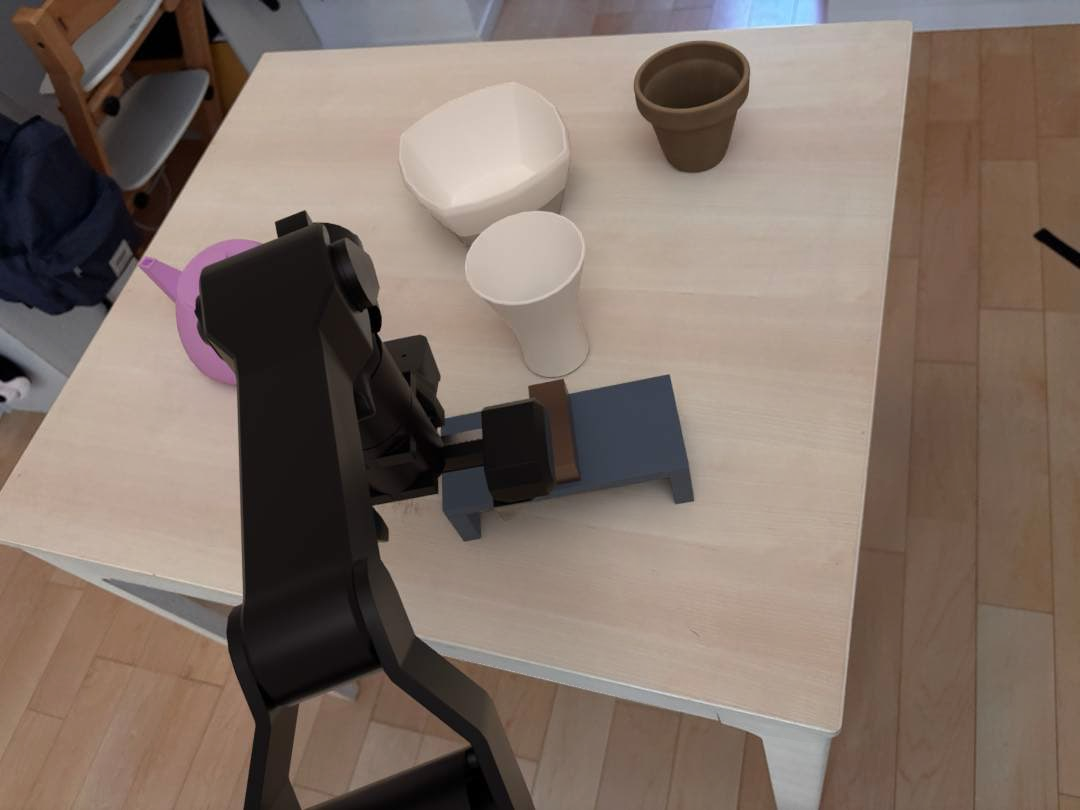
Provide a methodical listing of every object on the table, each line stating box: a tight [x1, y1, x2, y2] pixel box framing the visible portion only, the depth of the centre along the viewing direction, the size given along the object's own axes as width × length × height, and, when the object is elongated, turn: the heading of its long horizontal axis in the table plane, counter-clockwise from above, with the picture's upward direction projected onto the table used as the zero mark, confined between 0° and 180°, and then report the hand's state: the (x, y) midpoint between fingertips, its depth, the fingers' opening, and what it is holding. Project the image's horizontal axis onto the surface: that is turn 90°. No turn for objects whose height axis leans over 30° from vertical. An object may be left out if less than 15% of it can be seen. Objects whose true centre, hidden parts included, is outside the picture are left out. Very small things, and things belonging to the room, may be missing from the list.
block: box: [527, 378, 581, 485], centre depth 70 cm, size 8×3×3 cm, turn 5°
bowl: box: [397, 81, 572, 249], centre depth 92 cm, size 18×18×9 cm
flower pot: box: [633, 40, 751, 173], centre depth 90 cm, size 12×11×10 cm
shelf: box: [440, 373, 695, 542], centre depth 73 cm, size 9×20×6 cm, turn 95°
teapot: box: [137, 238, 264, 386], centre depth 89 cm, size 22×16×12 cm
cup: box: [464, 211, 590, 378], centre depth 78 cm, size 10×10×14 cm
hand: (447, 525), depth 62 cm, fingers open, 9 cm apart
